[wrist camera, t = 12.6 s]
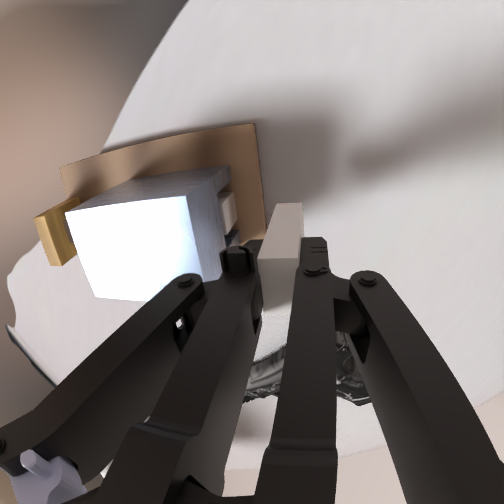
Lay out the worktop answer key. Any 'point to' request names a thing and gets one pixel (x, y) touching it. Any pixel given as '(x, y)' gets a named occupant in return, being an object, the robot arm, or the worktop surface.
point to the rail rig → (157, 162)
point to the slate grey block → (152, 232)
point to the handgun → (348, 376)
